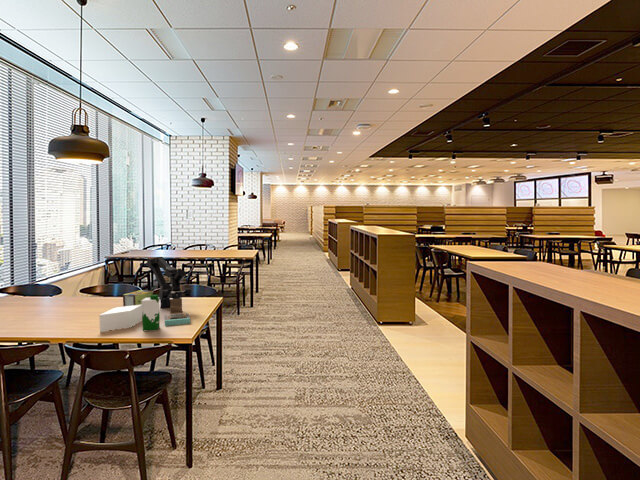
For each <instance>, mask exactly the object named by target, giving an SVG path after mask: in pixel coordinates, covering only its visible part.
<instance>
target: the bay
mask: <svg viewBox="0 0 640 480" xmlns="http://www.w3.org/2000/svg"><path fill="white" fill-rule="evenodd" d="M185 315H186V317H183V319H173V320H170V319H168V317H167V315H164V326H165V327H167V326H176V325H177V326H178V325H186V324H191V318H190V315H189V313H186V314H185Z"/></svg>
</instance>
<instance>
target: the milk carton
mask: <svg viewBox="0 0 640 480" xmlns="http://www.w3.org/2000/svg"><path fill="white" fill-rule="evenodd" d="M158 295H159V294H153V295H151V296H150V298H145V299H143V300H142V301H141V302H142V321H141V322H142V331H144V330H148V331H147V332H150V331H149V330H156V331H157V330H158V329H159V328H160V325H161V324H160V323H161V322H160V321H161V320H160V299H159V297H158ZM144 332H145V331H144Z"/></svg>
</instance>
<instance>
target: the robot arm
mask: <svg viewBox="0 0 640 480" xmlns="http://www.w3.org/2000/svg"><path fill="white" fill-rule="evenodd" d="M146 265H147V267H148V269H150V270H151V271H152V272H153V274H154V276H155V278H156V281H157V283H158V286H159V293H158V294H157V295H158V297H159V304H160V306H159V309H166V308H167V309H168V308H170V299H179V298H183V295H184V297H191V296H192V289H191V288H185V289H184V290H182V289H181V287H182V286H181V282H182V281H183V279H184V278H185V277H186V275H187V272H186V271H185V270H184V269H182V268H181V267H180V268H178V269H177V268H176V267H174V266H171V265H170V264H169V263H168V262H167V261H166V260H165V259H164V257H163V256H155V257H154V258H153V257H152V258H148V259H147V260H146ZM161 268H162V270H163V271H164V274H165V276H166V277H167V278H169V279H171V280H170V283H171V284H168V283H167V281H166V279H165V277H164V274H163V272H162V270H161Z"/></svg>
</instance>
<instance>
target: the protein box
mask: <svg viewBox="0 0 640 480" xmlns="http://www.w3.org/2000/svg"><path fill="white" fill-rule="evenodd" d="M153 292H154V291H153V290H146V289H145V290H144V289H143V290H142V289H140V290H136V291H133V292H129V293H124V294H122V301H123V302H122V307H125V306H133V305H140V304H142V302H141V301H142V300H143V299H145V298H150V296H151V295H154V294H153Z"/></svg>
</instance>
